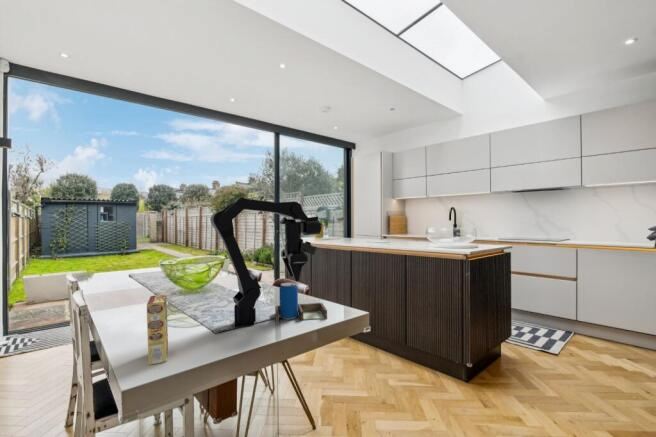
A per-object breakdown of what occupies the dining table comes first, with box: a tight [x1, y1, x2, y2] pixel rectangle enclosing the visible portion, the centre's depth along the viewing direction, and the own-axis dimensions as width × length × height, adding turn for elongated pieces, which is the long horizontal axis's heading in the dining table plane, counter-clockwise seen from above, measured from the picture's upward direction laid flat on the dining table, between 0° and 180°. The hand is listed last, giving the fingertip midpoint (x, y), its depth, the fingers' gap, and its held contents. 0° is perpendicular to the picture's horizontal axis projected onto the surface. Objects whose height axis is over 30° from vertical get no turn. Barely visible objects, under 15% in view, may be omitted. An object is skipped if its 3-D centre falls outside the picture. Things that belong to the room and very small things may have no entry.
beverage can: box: [279, 281, 299, 321], centre depth 116 cm, size 6×6×12 cm
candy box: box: [146, 294, 169, 366], centre depth 84 cm, size 9×4×15 cm, turn 23°
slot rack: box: [274, 302, 328, 323], centre depth 117 cm, size 18×10×3 cm, turn 101°
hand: (294, 278), depth 118 cm, fingers open, 9 cm apart
